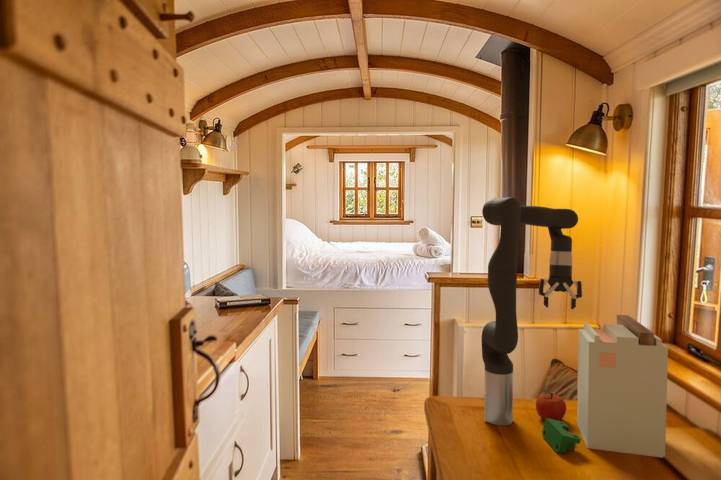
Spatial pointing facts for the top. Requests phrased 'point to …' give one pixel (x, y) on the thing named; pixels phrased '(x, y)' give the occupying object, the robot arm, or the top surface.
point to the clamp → (559, 435)
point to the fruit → (550, 406)
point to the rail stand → (621, 391)
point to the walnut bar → (636, 329)
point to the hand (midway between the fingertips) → (559, 308)
